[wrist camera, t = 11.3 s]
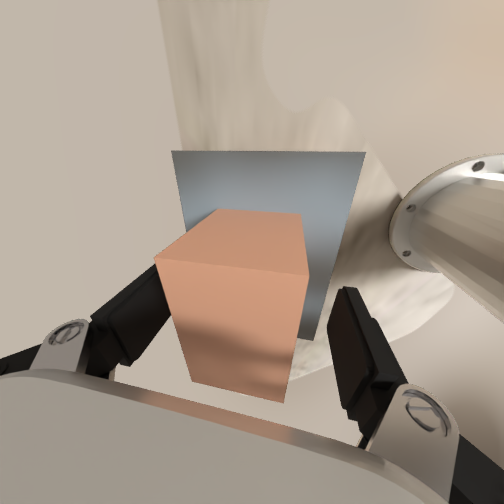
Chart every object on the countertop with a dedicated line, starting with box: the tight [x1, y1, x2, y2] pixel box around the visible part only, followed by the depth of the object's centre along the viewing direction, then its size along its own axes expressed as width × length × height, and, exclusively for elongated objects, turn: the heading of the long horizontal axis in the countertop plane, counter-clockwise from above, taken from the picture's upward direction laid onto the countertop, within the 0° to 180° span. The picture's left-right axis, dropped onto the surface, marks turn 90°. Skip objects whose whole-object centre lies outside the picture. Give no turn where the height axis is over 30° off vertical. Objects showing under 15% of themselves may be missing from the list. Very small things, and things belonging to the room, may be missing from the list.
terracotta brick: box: [154, 209, 309, 403], centre depth 10 cm, size 8×5×6 cm, turn 179°
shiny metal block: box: [171, 151, 366, 341], centre depth 18 cm, size 14×10×12 cm
